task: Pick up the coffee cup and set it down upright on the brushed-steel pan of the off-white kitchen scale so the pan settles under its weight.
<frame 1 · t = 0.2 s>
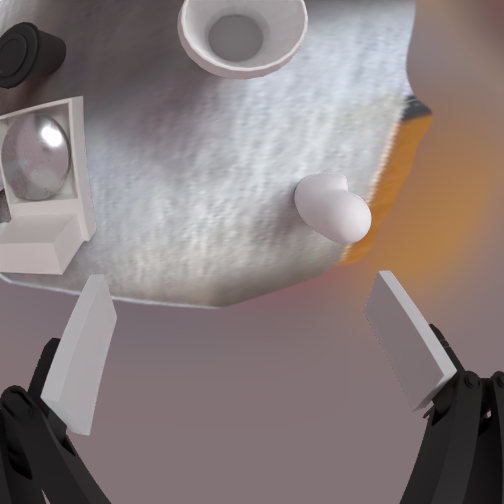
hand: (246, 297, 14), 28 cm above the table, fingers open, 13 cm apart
cup: (234, 42, 29), on the table
coffee cup: (51, 55, 25), on the table
pan: (37, 155, 30), point 2 cm above the table, slide at 0.2 cm, touching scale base
figurine: (316, 192, 41), on the table
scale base: (47, 170, 34), on the table
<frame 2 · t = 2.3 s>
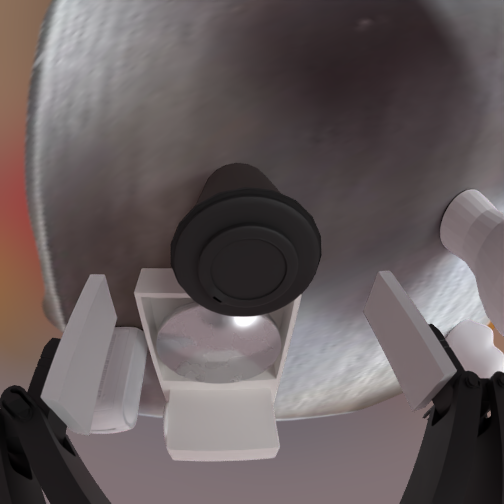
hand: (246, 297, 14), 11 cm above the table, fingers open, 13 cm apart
cup: (462, 219, 27), on the table
coffee cup: (237, 194, 23), on the table
photo printer: (109, 335, 31), on the table
pan: (218, 339, 28), point 2 cm above the table, slide at 0.2 cm, touching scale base
figurine: (460, 329, 39), on the table
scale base: (218, 340, 32), on the table
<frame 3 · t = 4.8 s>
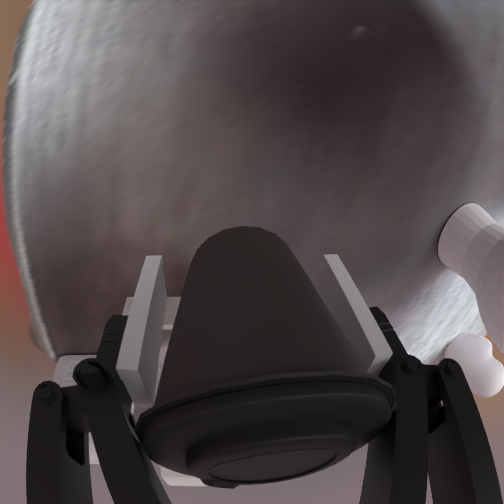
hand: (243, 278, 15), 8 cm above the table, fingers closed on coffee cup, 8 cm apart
cup: (461, 234, 26), on the table
coffee cup: (242, 270, 15), point 7 cm above the table, touching gripper
photo printer: (97, 362, 28), on the table
pan: (209, 367, 26), point 2 cm above the table, slide at 0.2 cm, touching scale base
figurine: (458, 342, 38), on the table
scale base: (209, 366, 30), on the table
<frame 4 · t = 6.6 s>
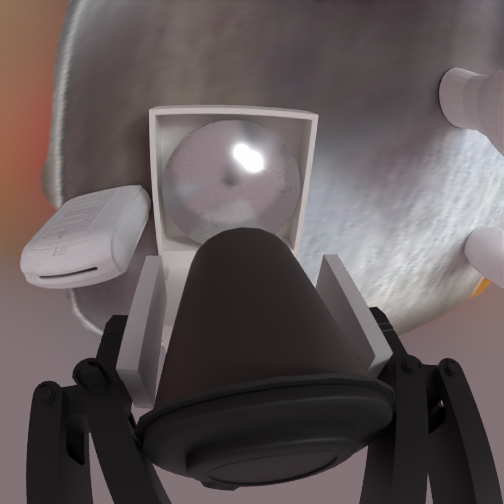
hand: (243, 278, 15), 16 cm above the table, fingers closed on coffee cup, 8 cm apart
cup: (458, 97, 25), on the table
coffee cup: (242, 271, 15), point 16 cm above the table, touching gripper
photo printer: (107, 205, 28), on the table
pan: (230, 183, 26), point 2 cm above the table, slide at 0.2 cm, touching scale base
figurine: (477, 240, 37), on the table
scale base: (228, 203, 30), on the table
when the fingers open (6 cm above the table, at t = 8.8 s): coffee cup drops 1 cm, resting on pan.
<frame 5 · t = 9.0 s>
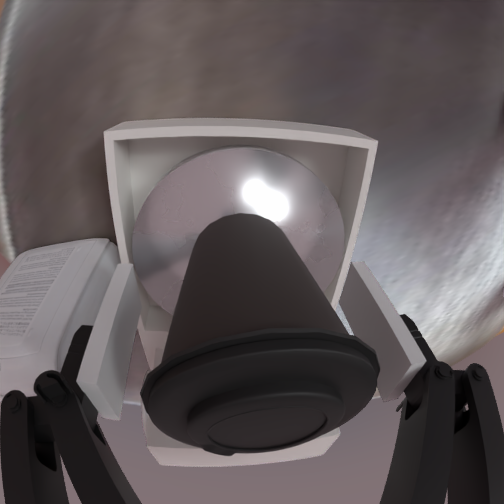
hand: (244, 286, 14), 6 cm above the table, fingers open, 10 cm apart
coffee cup: (241, 255, 16), point 4 cm above the table, touching pan
photo printer: (69, 261, 20), on the table
pan: (238, 243, 18), point 2 cm above the table, slide at 0.2 cm, touching coffee cup, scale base
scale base: (234, 262, 21), on the table
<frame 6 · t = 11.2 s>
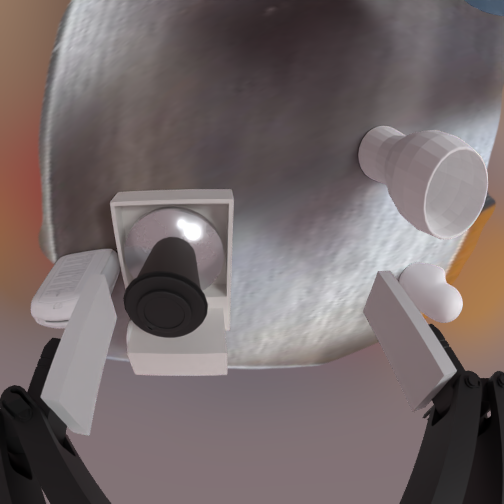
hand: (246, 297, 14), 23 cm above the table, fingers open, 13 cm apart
cup: (382, 153, 35), on the table
coffee cup: (173, 256, 34), point 4 cm above the table, touching pan
photo printer: (89, 261, 37), on the table
pan: (174, 250, 35), point 2 cm above the table, slide at 0.2 cm, touching coffee cup, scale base
figurine: (413, 274, 47), on the table
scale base: (177, 261, 39), on the table
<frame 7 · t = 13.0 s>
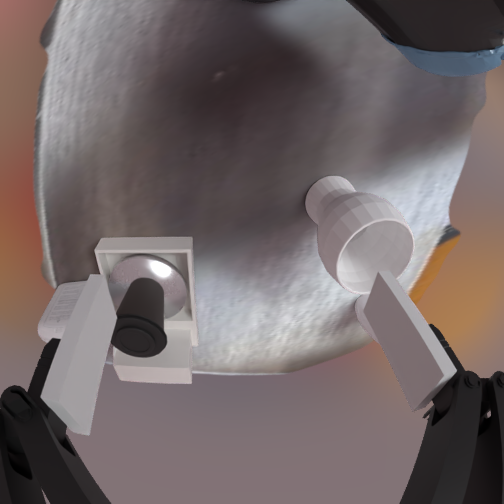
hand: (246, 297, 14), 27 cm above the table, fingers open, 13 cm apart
cup: (330, 200, 41), on the table
coffee cup: (146, 291, 41), point 4 cm above the table, touching pan
photo printer: (83, 288, 45), on the table
pan: (148, 285, 43), point 2 cm above the table, slide at 0.2 cm, touching coffee cup, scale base
figurine: (370, 300, 54), on the table
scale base: (153, 290, 46), on the table
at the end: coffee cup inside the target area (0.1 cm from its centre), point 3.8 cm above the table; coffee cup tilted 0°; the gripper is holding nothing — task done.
